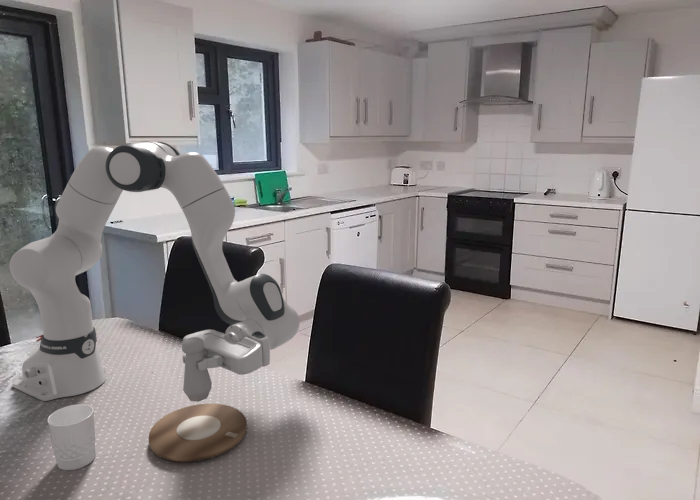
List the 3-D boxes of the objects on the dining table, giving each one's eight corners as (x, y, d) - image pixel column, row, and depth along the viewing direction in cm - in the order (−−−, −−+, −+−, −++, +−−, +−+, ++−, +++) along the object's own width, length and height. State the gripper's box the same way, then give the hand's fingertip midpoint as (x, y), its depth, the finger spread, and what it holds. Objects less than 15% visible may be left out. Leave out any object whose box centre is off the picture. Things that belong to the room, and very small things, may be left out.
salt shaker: (204, 405, 103) (197, 347, 100) (179, 402, 104) (171, 345, 101) (217, 390, 109) (211, 334, 105) (193, 388, 110) (186, 333, 106)
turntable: (127, 449, 102) (126, 443, 102) (188, 401, 120) (188, 396, 120) (212, 470, 96) (212, 465, 95) (263, 416, 114) (263, 411, 114)
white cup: (52, 477, 95) (46, 430, 93) (54, 454, 102) (48, 409, 99) (99, 465, 98) (94, 419, 96) (98, 444, 105) (93, 400, 103)
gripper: (212, 318, 120) (160, 337, 109) (273, 339, 108) (222, 362, 97) (214, 343, 121) (163, 364, 111) (274, 366, 109) (224, 392, 99)
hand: (191, 363), depth 104 cm, fingers closed on salt shaker, 3 cm apart
